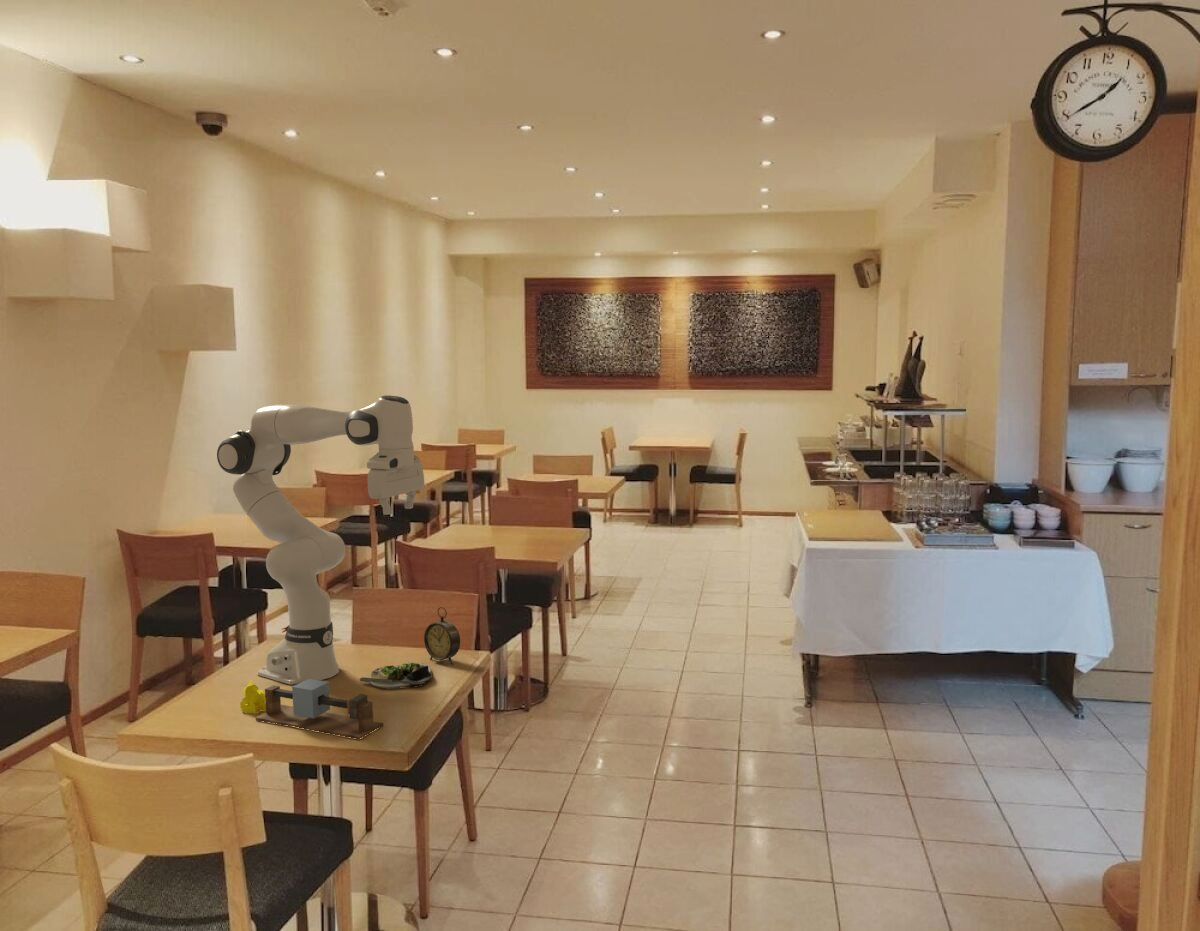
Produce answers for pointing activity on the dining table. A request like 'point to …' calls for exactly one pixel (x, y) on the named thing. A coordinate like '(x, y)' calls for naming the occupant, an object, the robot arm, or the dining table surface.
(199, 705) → the dining table surface
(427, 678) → the salad plate
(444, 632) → the alarm clock
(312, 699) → the sleeve
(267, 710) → the rail rig
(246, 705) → the crumpled paper
